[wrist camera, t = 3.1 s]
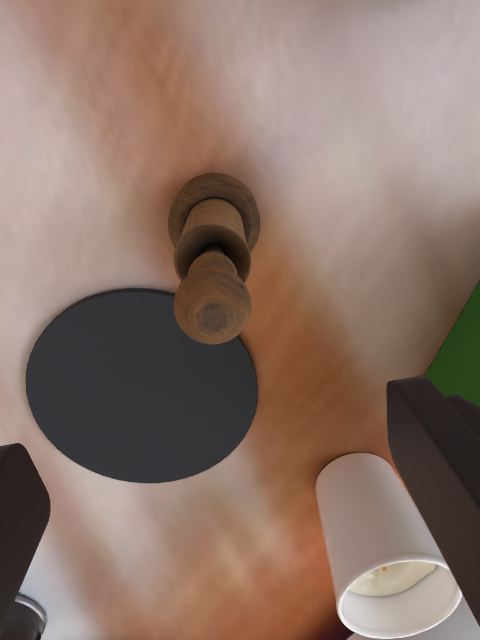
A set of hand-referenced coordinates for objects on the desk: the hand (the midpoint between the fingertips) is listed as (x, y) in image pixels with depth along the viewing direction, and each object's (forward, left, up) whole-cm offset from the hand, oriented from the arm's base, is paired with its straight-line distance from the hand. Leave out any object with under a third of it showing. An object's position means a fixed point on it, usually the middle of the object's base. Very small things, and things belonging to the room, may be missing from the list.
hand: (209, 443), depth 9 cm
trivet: (-9, -14, -24) cm, 30 cm away
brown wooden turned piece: (0, 0, -25) cm, 25 cm away
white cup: (+9, -29, -25) cm, 39 cm away
